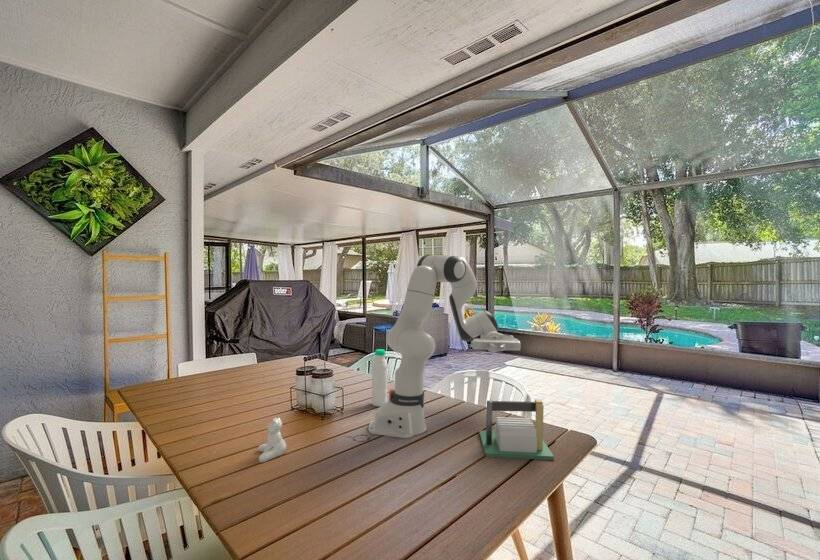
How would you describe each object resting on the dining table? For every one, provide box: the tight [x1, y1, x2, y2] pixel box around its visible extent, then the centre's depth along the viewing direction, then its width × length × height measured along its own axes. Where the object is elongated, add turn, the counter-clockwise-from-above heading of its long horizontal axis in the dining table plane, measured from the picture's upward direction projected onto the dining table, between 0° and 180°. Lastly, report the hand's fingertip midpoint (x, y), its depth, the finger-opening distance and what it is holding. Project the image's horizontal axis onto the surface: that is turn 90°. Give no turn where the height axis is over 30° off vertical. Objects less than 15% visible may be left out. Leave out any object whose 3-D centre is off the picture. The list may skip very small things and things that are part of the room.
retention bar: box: [485, 400, 536, 444], centre depth 130 cm, size 18×2×14 cm, turn 90°
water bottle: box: [371, 348, 389, 407], centre depth 170 cm, size 7×7×25 cm
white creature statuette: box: [257, 417, 287, 463], centre depth 122 cm, size 10×9×12 cm
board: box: [478, 398, 555, 461], centre depth 131 cm, size 22×18×17 cm
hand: (498, 348), depth 153 cm, fingers closed
